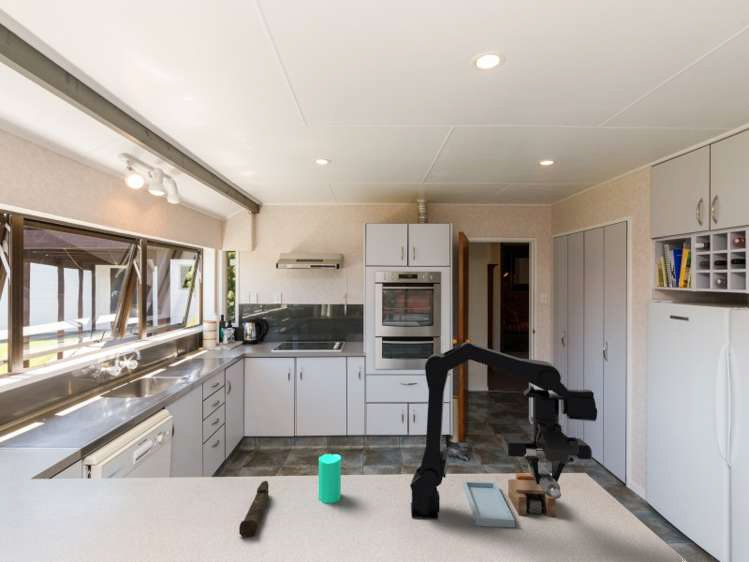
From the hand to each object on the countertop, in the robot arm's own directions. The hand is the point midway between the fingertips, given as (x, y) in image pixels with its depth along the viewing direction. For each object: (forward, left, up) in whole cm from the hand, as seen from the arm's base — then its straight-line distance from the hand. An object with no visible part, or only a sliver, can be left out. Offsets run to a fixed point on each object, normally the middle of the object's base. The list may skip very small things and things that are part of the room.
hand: (545, 484), depth 91 cm
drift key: (0, +12, -11) cm, 16 cm away
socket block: (0, +11, -11) cm, 15 cm away
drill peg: (0, +1, -1) cm, 1 cm away
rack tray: (-11, +10, -11) cm, 19 cm away
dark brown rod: (-70, +2, -11) cm, 71 cm away
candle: (-53, +11, -11) cm, 55 cm away
